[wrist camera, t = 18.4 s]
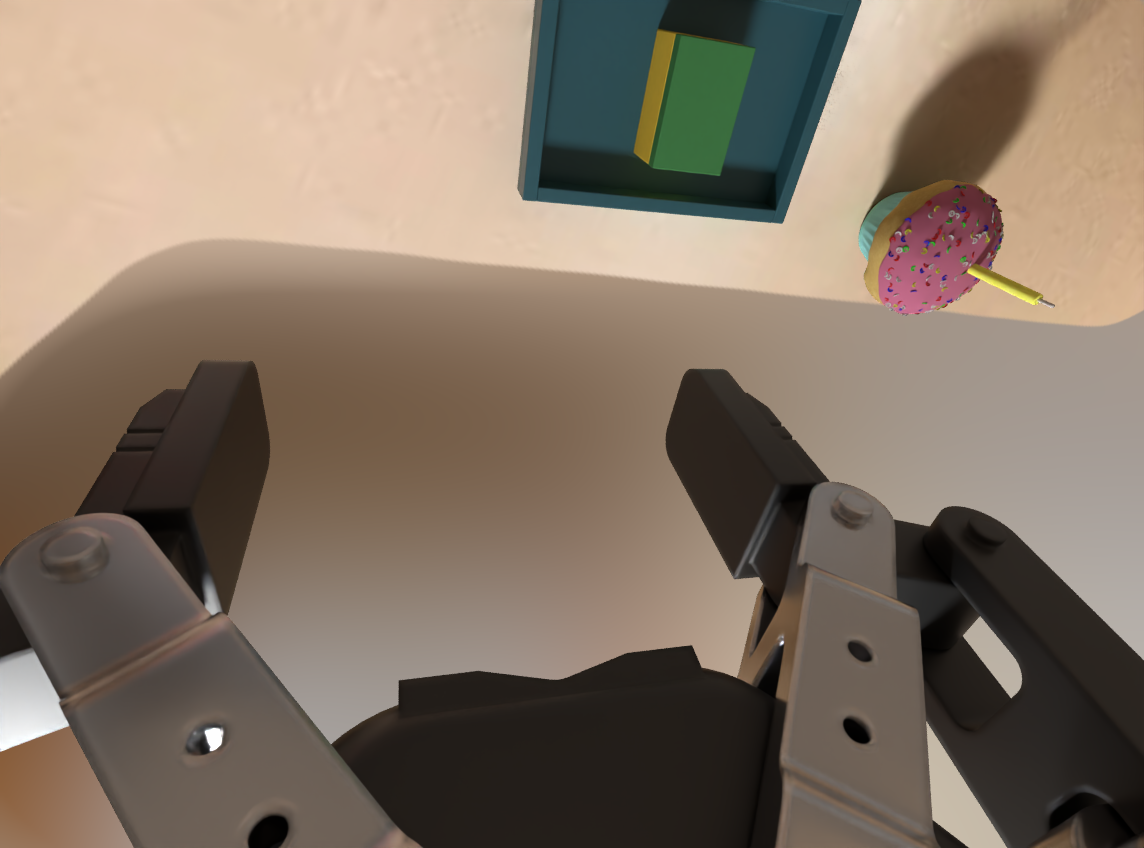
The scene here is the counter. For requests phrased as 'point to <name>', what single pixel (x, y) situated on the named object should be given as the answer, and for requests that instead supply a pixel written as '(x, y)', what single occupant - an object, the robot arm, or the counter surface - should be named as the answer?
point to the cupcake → (934, 247)
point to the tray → (617, 88)
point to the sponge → (691, 102)
